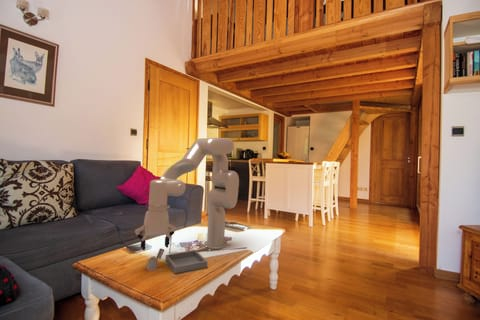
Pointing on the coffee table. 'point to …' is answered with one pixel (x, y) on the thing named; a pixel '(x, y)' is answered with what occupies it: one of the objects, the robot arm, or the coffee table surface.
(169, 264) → the tray
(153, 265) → the lighter
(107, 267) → the coffee table surface
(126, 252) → the coffee table surface
